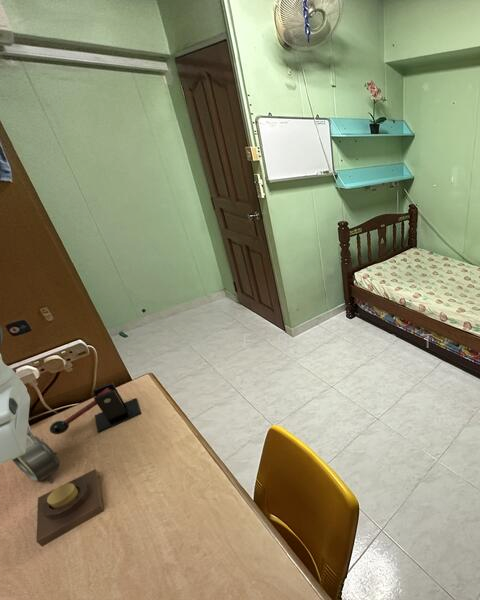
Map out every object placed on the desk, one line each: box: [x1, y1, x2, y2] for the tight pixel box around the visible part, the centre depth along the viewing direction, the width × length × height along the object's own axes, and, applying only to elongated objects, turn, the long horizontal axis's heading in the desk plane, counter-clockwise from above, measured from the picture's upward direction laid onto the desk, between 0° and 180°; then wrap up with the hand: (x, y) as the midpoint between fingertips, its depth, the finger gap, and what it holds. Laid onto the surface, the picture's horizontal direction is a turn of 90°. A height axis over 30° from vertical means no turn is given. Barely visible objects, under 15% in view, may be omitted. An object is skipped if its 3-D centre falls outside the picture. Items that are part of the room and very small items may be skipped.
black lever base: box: [92, 382, 142, 434], centre depth 91 cm, size 10×8×11 cm
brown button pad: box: [35, 468, 105, 547], centre depth 71 cm, size 10×12×4 cm
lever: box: [49, 387, 111, 435], centre depth 87 cm, size 15×4×4 cm, turn 133°
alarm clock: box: [12, 435, 61, 484], centre depth 75 cm, size 11×5×16 cm, turn 68°
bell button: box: [47, 482, 79, 509], centre depth 70 cm, size 4×4×2 cm
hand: (29, 443), depth 66 cm, fingers closed
